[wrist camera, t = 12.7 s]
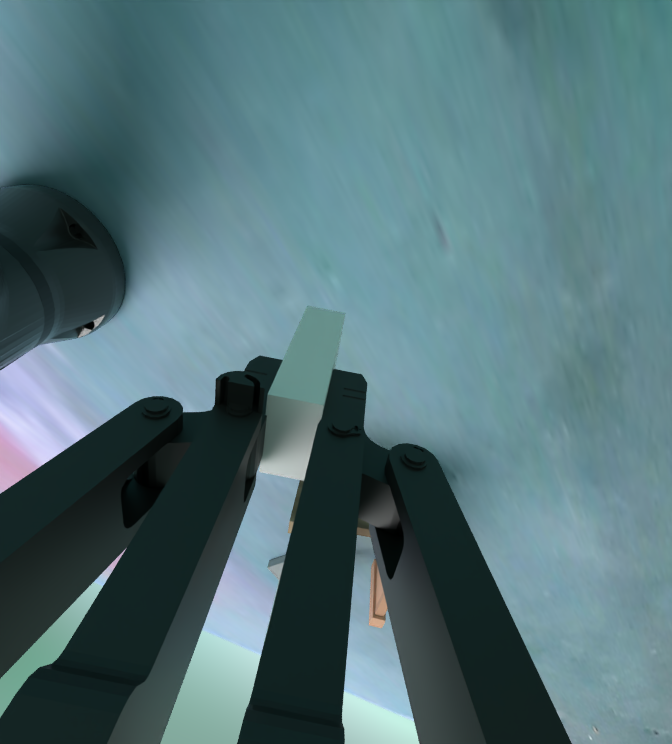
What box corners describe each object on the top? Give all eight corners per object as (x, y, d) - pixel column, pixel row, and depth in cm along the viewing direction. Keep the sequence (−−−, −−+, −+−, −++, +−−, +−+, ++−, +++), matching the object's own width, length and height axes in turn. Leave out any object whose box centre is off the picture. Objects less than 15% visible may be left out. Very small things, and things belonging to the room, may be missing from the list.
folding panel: (401, 496, 55) (403, 553, 48) (414, 499, 56) (417, 557, 48) (371, 566, 62) (368, 625, 55) (382, 568, 62) (381, 628, 55)
